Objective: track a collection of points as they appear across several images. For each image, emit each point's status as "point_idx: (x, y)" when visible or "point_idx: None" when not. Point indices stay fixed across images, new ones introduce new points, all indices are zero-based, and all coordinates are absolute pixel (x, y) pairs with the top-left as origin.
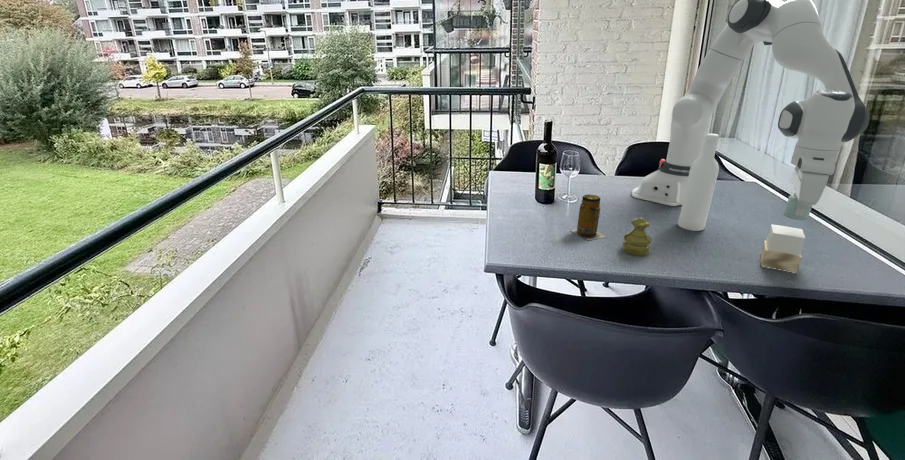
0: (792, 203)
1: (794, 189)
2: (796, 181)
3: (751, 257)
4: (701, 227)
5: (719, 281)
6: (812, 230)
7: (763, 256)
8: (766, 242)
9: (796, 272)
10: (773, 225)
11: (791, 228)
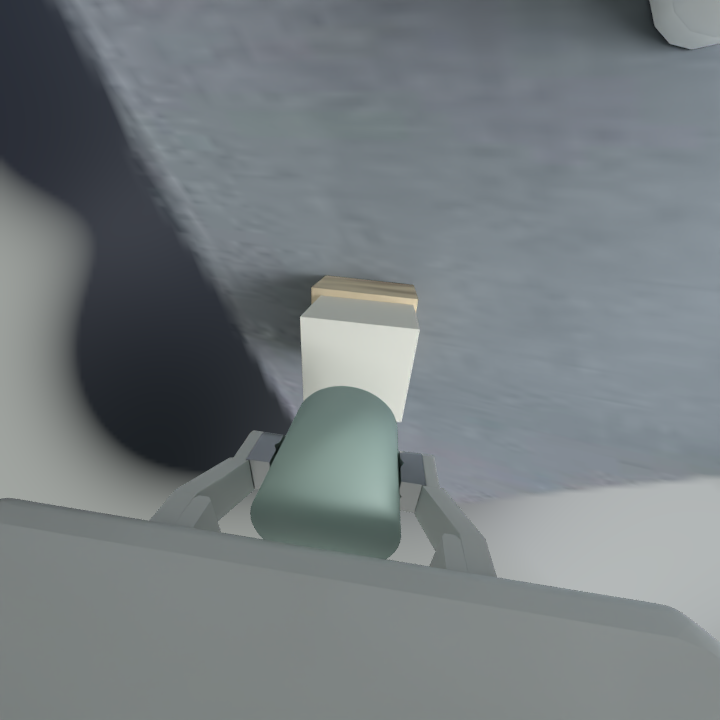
0: (278, 460)
1: (361, 571)
2: (375, 711)
3: (385, 257)
4: (670, 11)
5: (134, 132)
6: (664, 452)
7: (318, 282)
8: (394, 302)
9: None
10: (403, 335)
11: (393, 391)
